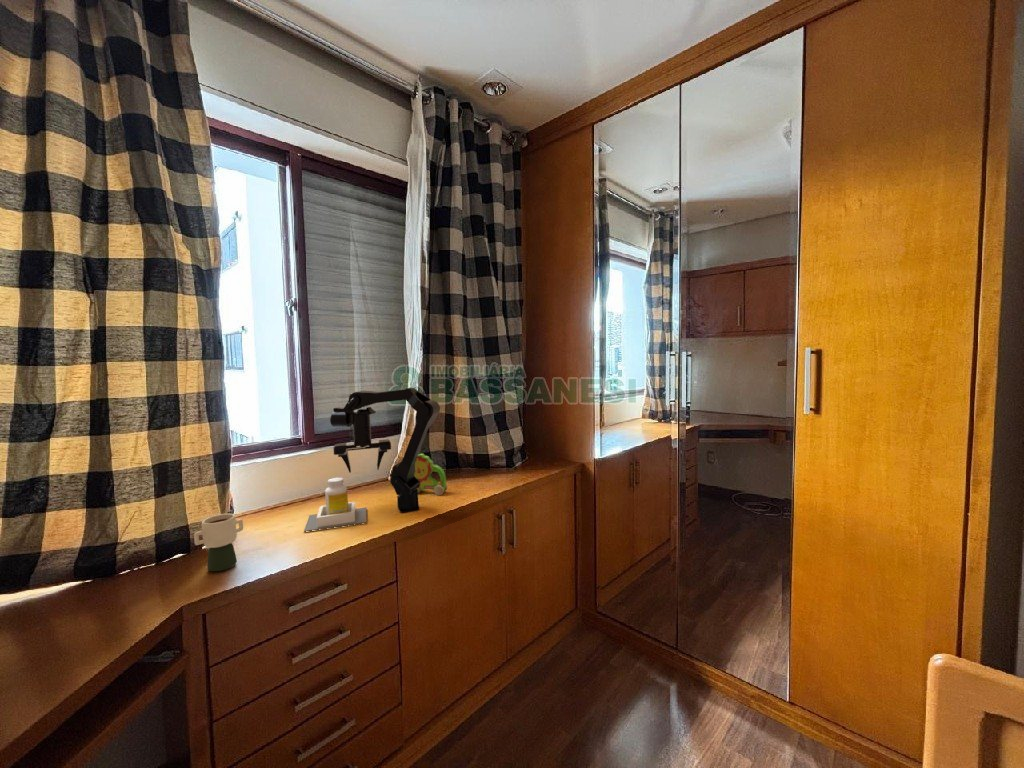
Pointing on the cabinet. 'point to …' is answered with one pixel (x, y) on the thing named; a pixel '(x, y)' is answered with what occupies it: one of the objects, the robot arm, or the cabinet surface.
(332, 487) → the supplement bottle
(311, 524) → the holder
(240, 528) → the white green trophy cup
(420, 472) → the toy lion
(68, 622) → the cabinet surface
